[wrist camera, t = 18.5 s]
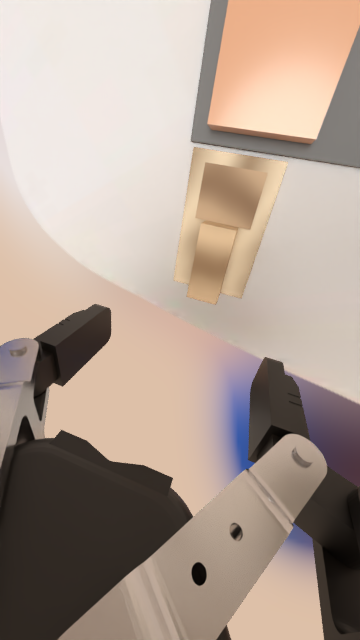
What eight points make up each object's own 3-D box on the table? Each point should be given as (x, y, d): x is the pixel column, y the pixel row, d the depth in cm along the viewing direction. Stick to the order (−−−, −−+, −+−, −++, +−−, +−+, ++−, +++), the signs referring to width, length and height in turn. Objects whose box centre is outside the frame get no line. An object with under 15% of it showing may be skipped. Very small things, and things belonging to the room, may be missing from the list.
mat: (472, -45, 14) (477, -52, 13) (364, 168, 19) (366, 168, 19) (219, -48, 16) (218, -54, 16) (191, 141, 22) (190, 140, 22)
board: (287, 163, 21) (288, 162, 20) (241, 296, 28) (241, 298, 27) (195, 148, 22) (193, 147, 21) (175, 278, 29) (173, 280, 29)
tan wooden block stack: (229, 295, 28) (226, 307, 25) (184, 283, 29) (176, 293, 26) (267, 173, 21) (269, 169, 18) (206, 162, 22) (199, 157, 19)
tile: (391, -58, 13) (238, -58, 14) (316, 139, 17) (207, 123, 19) (374, -26, 15) (240, -30, 16) (310, 144, 19) (211, 130, 21)
